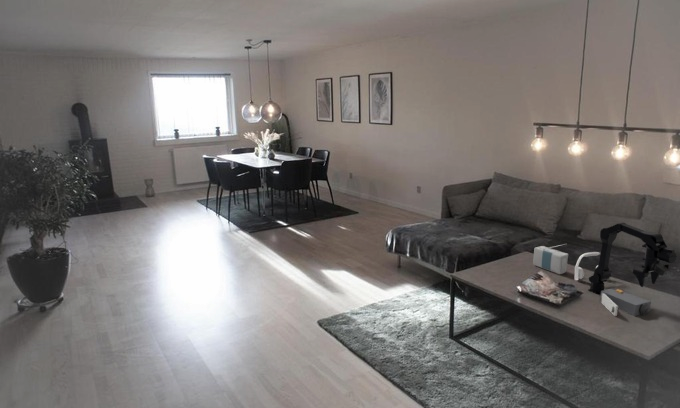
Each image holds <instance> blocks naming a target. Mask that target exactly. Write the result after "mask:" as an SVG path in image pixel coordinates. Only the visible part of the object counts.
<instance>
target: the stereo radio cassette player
mask: <svg viewBox="0 0 680 408" xmlns="http://www.w3.org/2000/svg"><path fill="white" fill-rule="evenodd" d="M563 245H565V246H566V243H564V244H560V245H556V246H555V245H554V246H549V247H547V246H545V245H540V246H537V247H534V249H533V250H534V251H533V261H532V264H533V266H535V267H538V268H542V269H544V270H546V271H549V272H552V273H554V274H557V275H563V274H564V273H566V272H567V269H568V267H567V266H568V258H569V253H567V252H564V251H560V250H557V249H553V248H556V247H559V246H563Z"/></svg>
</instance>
